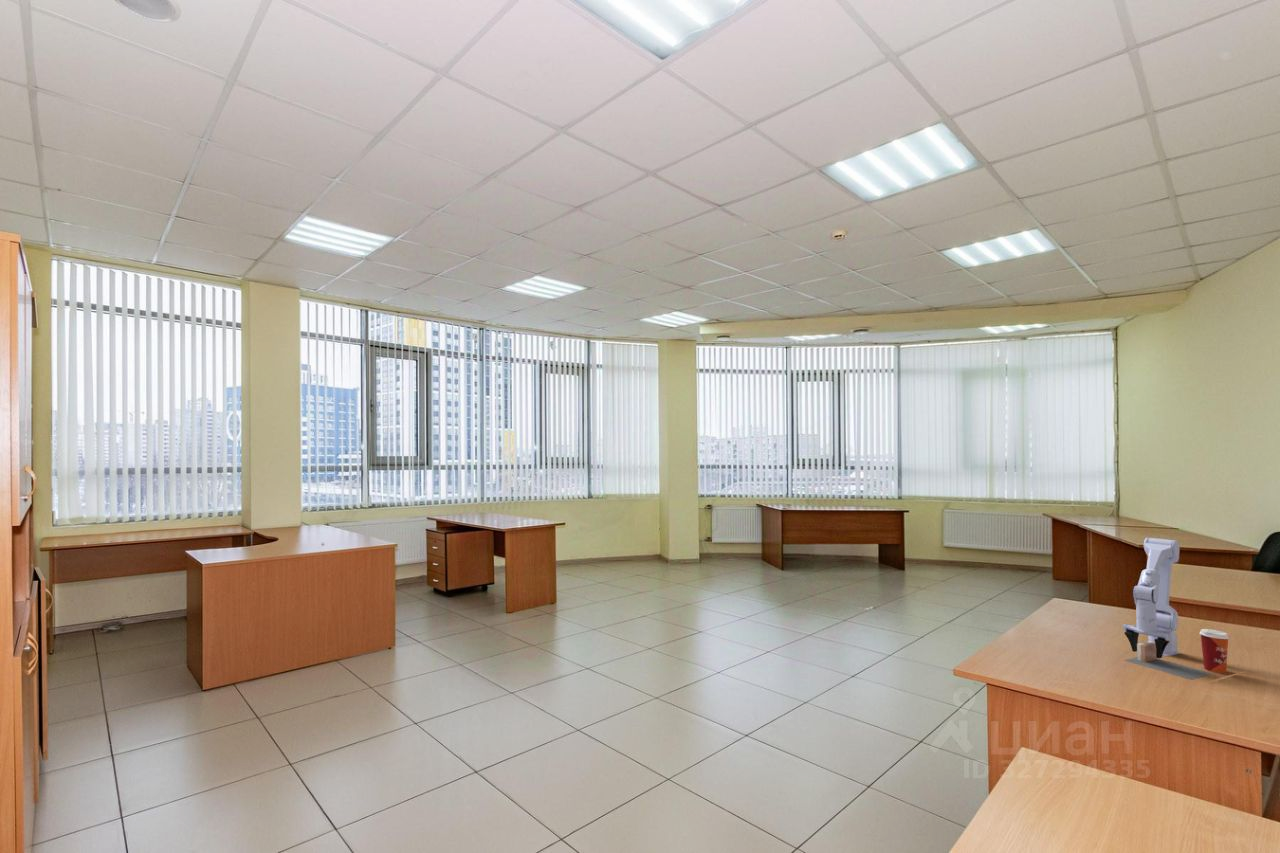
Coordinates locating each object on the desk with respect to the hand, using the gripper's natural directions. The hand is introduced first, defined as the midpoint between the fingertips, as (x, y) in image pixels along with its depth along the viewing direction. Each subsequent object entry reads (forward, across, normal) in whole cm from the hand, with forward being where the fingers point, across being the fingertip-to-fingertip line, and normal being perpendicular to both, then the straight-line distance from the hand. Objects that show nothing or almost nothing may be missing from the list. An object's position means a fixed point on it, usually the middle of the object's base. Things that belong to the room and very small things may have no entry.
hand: (1146, 654), depth 222 cm
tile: (+2, 0, 0) cm, 2 cm away
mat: (+2, +7, -2) cm, 8 cm away
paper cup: (+2, +16, +10) cm, 19 cm away
